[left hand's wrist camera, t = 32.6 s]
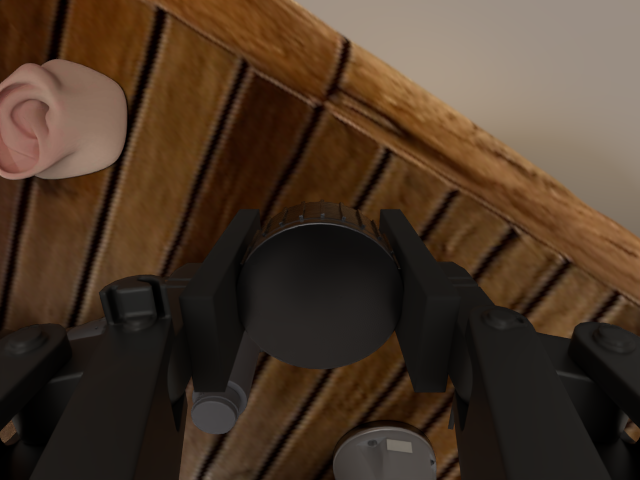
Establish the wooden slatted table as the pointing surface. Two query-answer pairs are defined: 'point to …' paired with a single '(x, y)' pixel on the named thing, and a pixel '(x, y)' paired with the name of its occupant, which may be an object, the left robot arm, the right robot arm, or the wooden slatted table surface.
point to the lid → (319, 286)
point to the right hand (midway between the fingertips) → (269, 317)
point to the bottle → (227, 393)
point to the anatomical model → (59, 121)
